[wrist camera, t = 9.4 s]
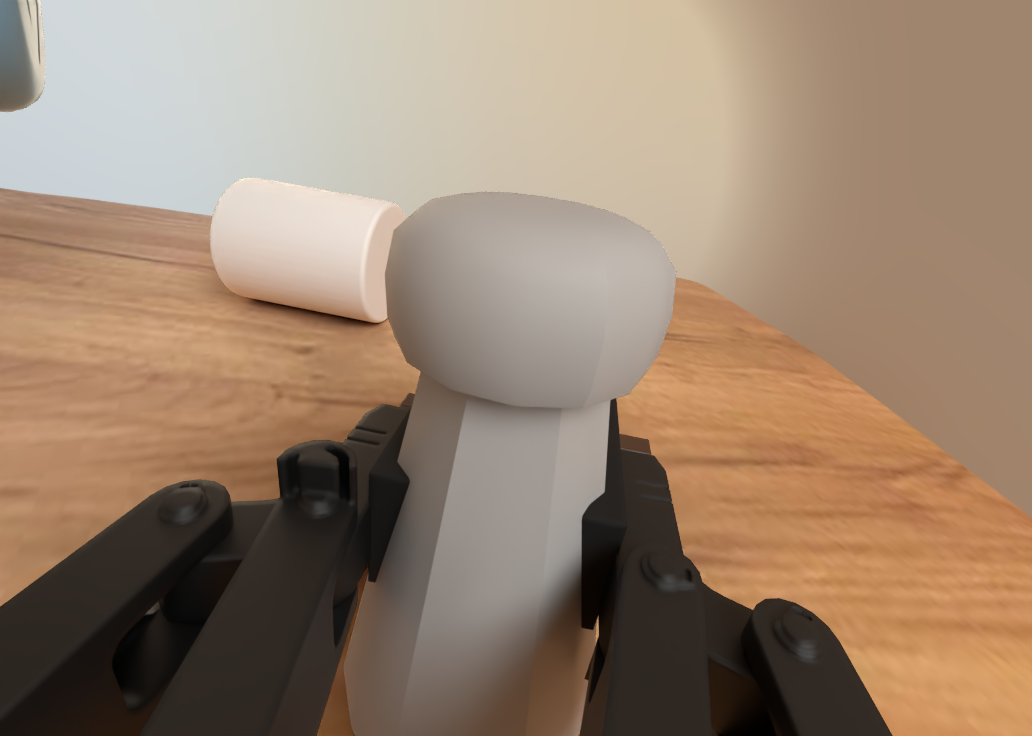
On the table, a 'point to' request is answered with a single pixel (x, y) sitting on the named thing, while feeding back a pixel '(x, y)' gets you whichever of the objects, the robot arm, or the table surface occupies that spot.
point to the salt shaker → (501, 459)
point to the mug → (304, 247)
